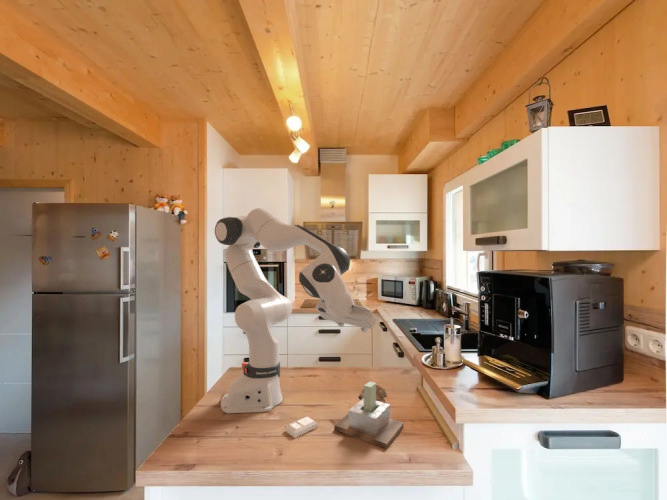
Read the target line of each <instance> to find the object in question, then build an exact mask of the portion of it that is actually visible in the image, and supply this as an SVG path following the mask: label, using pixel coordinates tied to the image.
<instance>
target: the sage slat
mask: <svg viewBox="0 0 667 500" xmlns="http://www.w3.org/2000/svg"><path fill="white" fill-rule="evenodd" d="M376 385H377V383H376V382H374V381H371V380H370V381H368V382H367V383H365V384H364V386H363V390H364V411H367V412H370V413H373V412H374V411H375V410H376Z"/></svg>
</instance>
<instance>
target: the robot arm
mask: <svg viewBox="0 0 667 500" xmlns="http://www.w3.org/2000/svg"><path fill="white" fill-rule="evenodd" d="M214 234H215V235H214V236H215V238H216V240H217V241H218V243H220V244H221V245H225V246H227V247H226V248H225V251H224V257H225V262H226V264H227V268H228V270H229V273H230V274H231V275H230V276H231V277H232V279H233V282H234V283H235V287H236V289H237V290H238V292H239V293H241V294H242V295H244V296H246V297H248V298H249V300H247V301H245V302H243V303H241V304H239V305H238V306H237V307H236V309H235V312H234V322H235V324H236V326H237V327H238V328H239V329H240V330H241V331H243V332H244V334H245V335H246V337H247V341H248V351H249V352H248V355H249V356H248V357H249V359H248V360H249V361H248V363H247V362H246V361H243V362H242V363H241V368H242V372H243V373H242V374H241V375H240V376H239V377H237V378H236V379H235V380H233V381H232V382H231V383H230V385H229V387H228V390H227V393H226V394H225V395H224V396H222V398H221V400H220V409H221V410H222V412H224V413H225V414H247V413H265V412H270V411H271V410H272V409H273V408H274V407H276V406H278V405H279V404H281V403H282V401H283V400H284V399H283V395H282V390H281V386H280V385H281V384H280V376H281V362H280V342H279V340H278V338H276V337H274V336H273V334H272V329H271V327H272V326H275V325H277V324H280V323H282V322H284V321H286V320H287V319H289V318H290V316H291V315H292V312H293V305H292V302H291V300H290V299H289V298H288V297H286V296H284V295H283V294H281V293H280V292H278V291H277V289H276V288H274V287H273V286H272V284H271V283H270V282H269V280H268V279H267V278H266V276H265V275H264V273H263V271H262V269H261V267H260V265H259V263H258V261H257V259H256V257H255V255H254V251H253V249H258V248H260V246H262V247H263V248H265V249H266V251H268V252H269V251H270V252H272V253H273V252H274V253H280V252H284V251H287V250H289V249H292V248H295V247H298V246H308V247H310V248H311V249H312V250H315V251H316V252H317V253H319V254H320V255H318V256H317V257H316V258H315V259H313V261H311V262H309V263H308V264H307V265H306V266H305V267H303V269H301V271H300V272H299V274H298V275H299V276H298V281H299V283H300V285H301V287H302V288H303V289H304V291H305V292H306V293H307V295H309V296H310V297H312V298H315V299H318V301H317V303H316V305H315V309H316V311H317V312H318V314H319V315H320V317H321V318H322V319H324V320H327V321H331V322H333V323H335V324H336V325H337V326H338V327H339V328H344V326H345V324H347V325H350V326H356V327H360V329H361V332H364V333H367V332H368V330H369V329H371V330H372V329H373V328H375V325H376V322H377V318H376V316H375V315H374V313H373V312H372V310H371V309H369V308H368V307H366V306H361V305H356V304H355V300H354V298H353V296H352V294H351V293H350V291H349V289H348V288H347V285H346V281H344V279H343V277H342V276H343V274H345V273H346V272H347V271H349V270H350V266H351V258H350V255H349V254H348V253H347V251H346V250H344V248H342V247H341V246H338V245H336V244H333V243H331V242H329V241H327V239H324V238H322V237H321V236H320V235H317V234H316V233H314V232H312V231H311V230H309V229H307V228H306V227H303V226H302V225H299V224H293V225H292V224H288V223H284V222H282V221H281V220H279V218H277V217H276V216H275V215H274V214H273V213H271V212H269V211H267V210H266V209H264V208H254V209H252V210H251V211H249V212H248V214H247V215H246V216H227V217H223V218H220V219H218V220H217V222H216V224H215V226H214Z"/></svg>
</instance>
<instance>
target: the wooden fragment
mask: <svg viewBox="0 0 667 500" xmlns="http://www.w3.org/2000/svg"><path fill="white" fill-rule="evenodd" d="M387 396H388V393H387V392H386V391H385V388H383V387H381V386H380V385H377V384H376V401H379V402H383V403H386V399H385V397H387ZM358 398H360V400H362V399H363V398H364V389H363V390H362V391H361V393H360V394H359V396H358Z"/></svg>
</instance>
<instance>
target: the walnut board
mask: <svg viewBox="0 0 667 500" xmlns="http://www.w3.org/2000/svg"><path fill="white" fill-rule="evenodd" d="M403 428H404V422H403V421H400V420H396V419H392V418H390V421H389V422H388V423H387V424H386V426H385V427H384V428H383V429H382V430H381V431H380V432H379V433H378V435H377V436H376V437H375V436H372V435H369V434H366V433H363V432H360V431H358V430H355V429H352V428H349V412H348V413H347V414H346V415H345V416H344V417H342V418H341V419H340V420H339V421H338V422H337V423H335V424H334V431H336V430H337V431H336V432H338V433H341V432H342V434H344V433H345V435H347V434H348V435H347V436H350V435H351V436H350V437H352V436H354V437H353V438H355V437H356V439H358V438H359V439H358V440H361V441H363V440H364V442H366V443H369V444H372V445H374V446H378V447H379V448H380V447H381V448H382V449H386V450H387V449H388V448H389V447H390V445H391V444H392V443H393V441H394V440H395V439H396V438H397V436H398V435H399V434H400V433H401V431H403Z"/></svg>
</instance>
